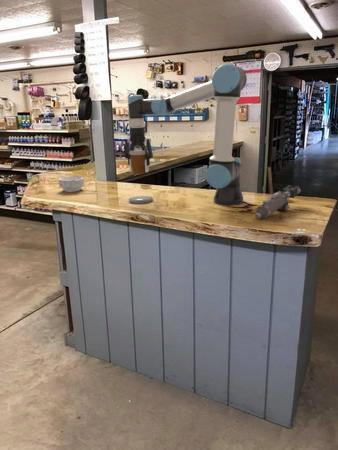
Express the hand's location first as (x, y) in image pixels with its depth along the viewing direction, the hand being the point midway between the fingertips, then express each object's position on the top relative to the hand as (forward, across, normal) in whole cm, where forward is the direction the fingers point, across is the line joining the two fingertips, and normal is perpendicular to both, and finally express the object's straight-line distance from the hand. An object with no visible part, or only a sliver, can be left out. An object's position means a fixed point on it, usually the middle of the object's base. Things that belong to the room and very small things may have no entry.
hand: (139, 171), depth 195 cm
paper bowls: (+16, +54, -16) cm, 59 cm away
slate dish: (+16, 0, 0) cm, 16 cm away
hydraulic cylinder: (+16, -71, +6) cm, 73 cm away
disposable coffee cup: (+1, 0, 0) cm, 1 cm away
